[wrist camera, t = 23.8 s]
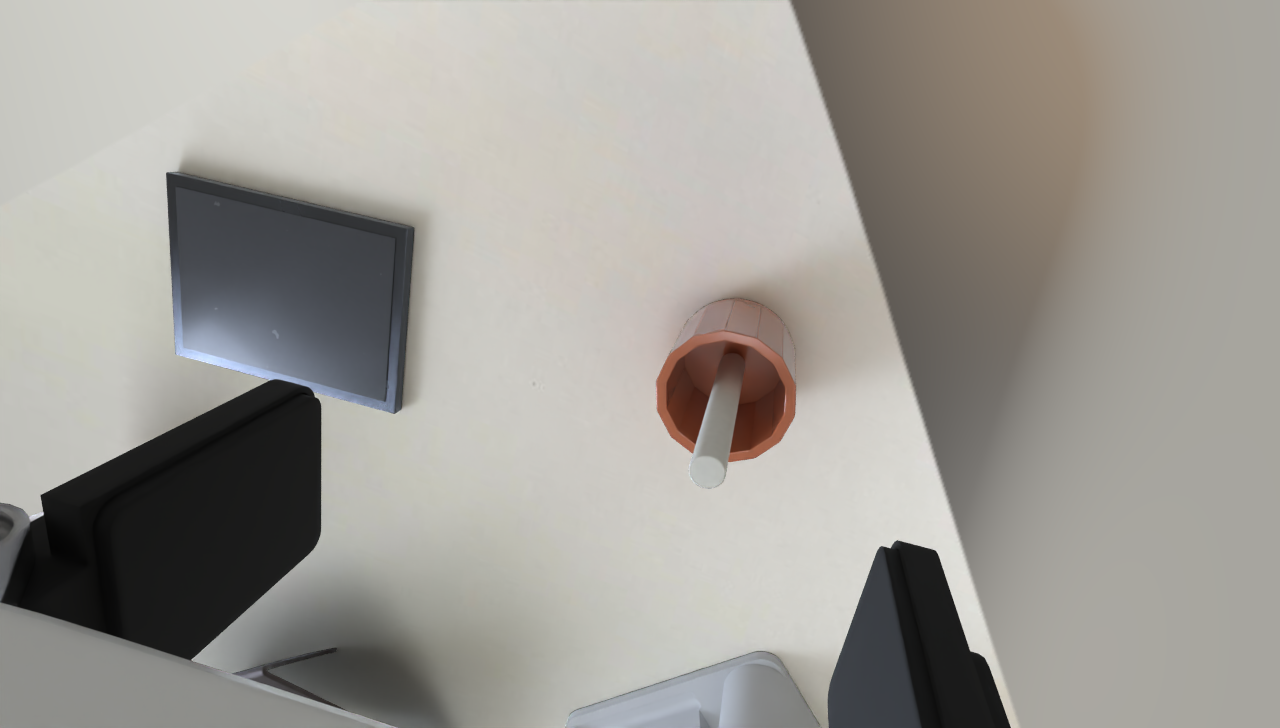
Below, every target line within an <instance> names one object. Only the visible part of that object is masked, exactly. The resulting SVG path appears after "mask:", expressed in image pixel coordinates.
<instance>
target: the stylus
mask: <svg viewBox="0 0 1280 728" xmlns="http://www.w3.org/2000/svg"><path fill="white" fill-rule="evenodd" d="M744 370H745V361H744V359H743V358H742V357H741V356H740V355H738V354H736V353H728V354H726V355H724V356H723V357H722V359H721V360H720V363H719V367H718V370H717V374H716V377H715V380H714V384H713V387H712V391H711V394H710V398H709V401H708V404H707V408H706V411H705V415H704V418H703V421H702V425H701V428H700V432H699V435H698V438H697V442H696V445H695V449H694V452H693V455H692V459H691V462H690V466H689V475H690V478H691V479H692V481H693V482H694V483H695V484H696V485H698V486H699V487H702V488H707V489H710V488H715V487H717V486H719V485H720V484H721V483H722V482H723V481H724V479H725V476H726V470H727V465H728V459H729V454H730V448H731V443H732V437H733V432H734V426H735V420H736V415H737V409H738V404H739V398H740V393H741V387H742V382H743V376H744Z"/></svg>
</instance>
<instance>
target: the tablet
mask: <svg viewBox="0 0 1280 728" xmlns="http://www.w3.org/2000/svg"><path fill="white" fill-rule="evenodd" d="M166 179H167V199H168V218H169V238H170V257H171V277H172V296H173V315H174V335H175V354H176V355H180V356H183V357H187V358H191V359H194V360H198V361H202V362H205V363H209V364H213V365H216V366H220V367H224V368H228V369H231V370H235V371H239V372H242V373H246V374H250V375H253V376H257V377H261V378H264V379H268V380H273V379H280V380H284V381H288V382H292V383H295V384H299V385H303V386H307V387H309V388H310V389H312V391H313V392H316V393H320V394H324V395H327V396H331V397H335V398H338V399H342V400H346V401H349V402H353V403H357V404H360V405H364V406H368V407H372V408H375V409H379V410H383V411H386V412H390V413H394V414H395V413H397V412H398V411H400V410H401V403H402V389H403V376H404V362H405V348H406V334H407V320H408V307H409V293H410V279H411V265H412V251H413V238H414V227H410V226H406V225H402V224H397V223H393V222H389V221H385V220H380V219H376V218H372V217H367V216H363V215H359V214H355V213H350V212H346V211H342V210H337V209H333V208H329V207H325V206H320V205H316V204H312V203H307V202H303V201H299V200H295V199H290V198H286V197H282V196H277V195H273V194H269V193H265V192H260V191H256V190H252V189H248V188H243V187H239V186H235V185H230V184H226V183H222V182H218V181H213V180H209V179H205V178H200V177H196V176H192V175H188V174H183V173H179V172H167V173H166Z"/></svg>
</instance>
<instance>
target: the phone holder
mask: <svg viewBox="0 0 1280 728" xmlns="http://www.w3.org/2000/svg"><path fill="white" fill-rule="evenodd" d="M565 728H821V727H820V726H819V724H818V722H817V720H816V719H815V717H814V715H813V714H812V712H811V710H810V709H809V707H808V705H807V704H806V702H805V700H804V699H803V697H802V695H801V694H800V692H799V690H798V688H797V687H796V685H795V683H794V682H793V680H792V678H791V677H790V675H789V673H788V672H787V670H786V668H785V667H784V665H783V663H782V662H781V660H780V659H779V658H777V657H776V656H775V655H773V654H771V653H768V652H754V653H750V654H747V655H744V656H741V657H738V658H735V659H732V660H729V661H726V662H723V663H720V664H717V665H714V666H711V667H707V668H704V669H701V670H698V671H695V672H692V673H689V674H686V675H683V676H680V677H677V678H674V679H671V680H668V681H665V682H661V683H658V684H655V685H652V686H649V687H646V688H643V689H640V690H637V691H634V692H631V693H628V694H625V695H622V696H619V697H615V698H612V699H609V700H606V701H603V702H600V703H597V704H594V705H591V706H588V707H585V708H582V709H579V710H576V711H574V712H572V713H571V714H570V716H569V718H568V721H567V723H566V726H565Z"/></svg>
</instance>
